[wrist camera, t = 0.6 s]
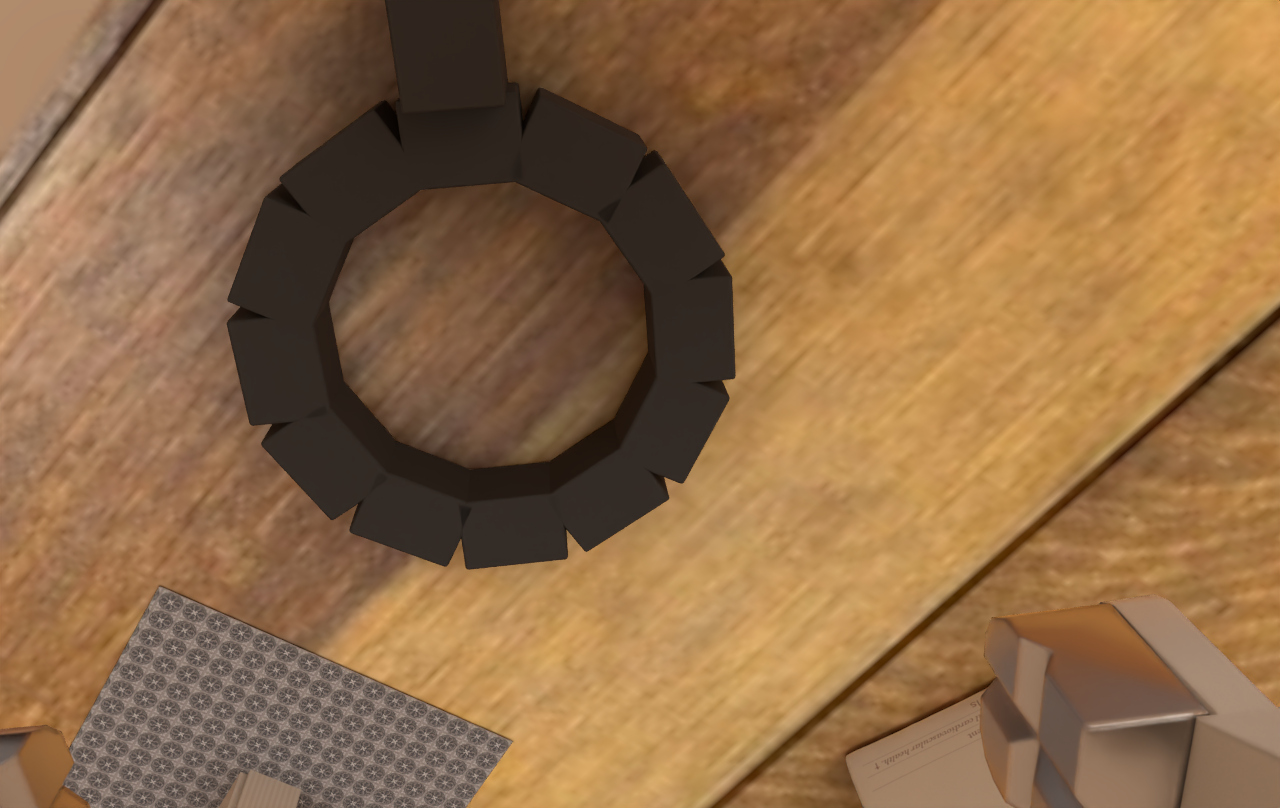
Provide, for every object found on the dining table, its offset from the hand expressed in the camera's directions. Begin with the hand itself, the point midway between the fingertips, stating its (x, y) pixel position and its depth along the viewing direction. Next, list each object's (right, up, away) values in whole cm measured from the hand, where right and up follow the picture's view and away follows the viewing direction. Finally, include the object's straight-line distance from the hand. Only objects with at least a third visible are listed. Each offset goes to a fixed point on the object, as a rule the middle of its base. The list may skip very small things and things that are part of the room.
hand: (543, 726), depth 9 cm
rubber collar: (-3, +6, +17) cm, 19 cm away
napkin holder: (-12, -11, +24) cm, 29 cm away
